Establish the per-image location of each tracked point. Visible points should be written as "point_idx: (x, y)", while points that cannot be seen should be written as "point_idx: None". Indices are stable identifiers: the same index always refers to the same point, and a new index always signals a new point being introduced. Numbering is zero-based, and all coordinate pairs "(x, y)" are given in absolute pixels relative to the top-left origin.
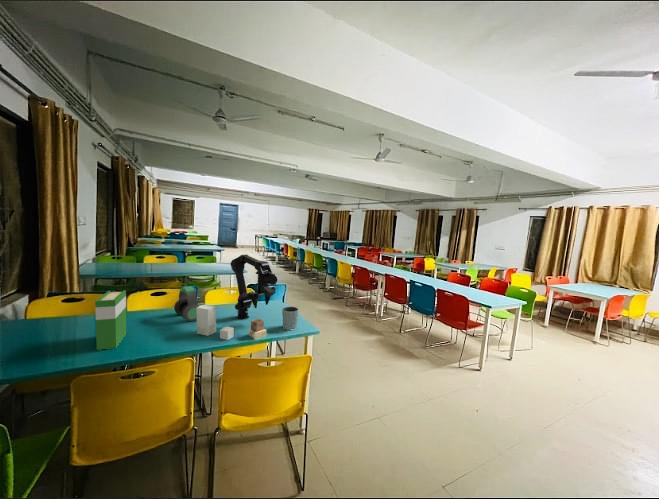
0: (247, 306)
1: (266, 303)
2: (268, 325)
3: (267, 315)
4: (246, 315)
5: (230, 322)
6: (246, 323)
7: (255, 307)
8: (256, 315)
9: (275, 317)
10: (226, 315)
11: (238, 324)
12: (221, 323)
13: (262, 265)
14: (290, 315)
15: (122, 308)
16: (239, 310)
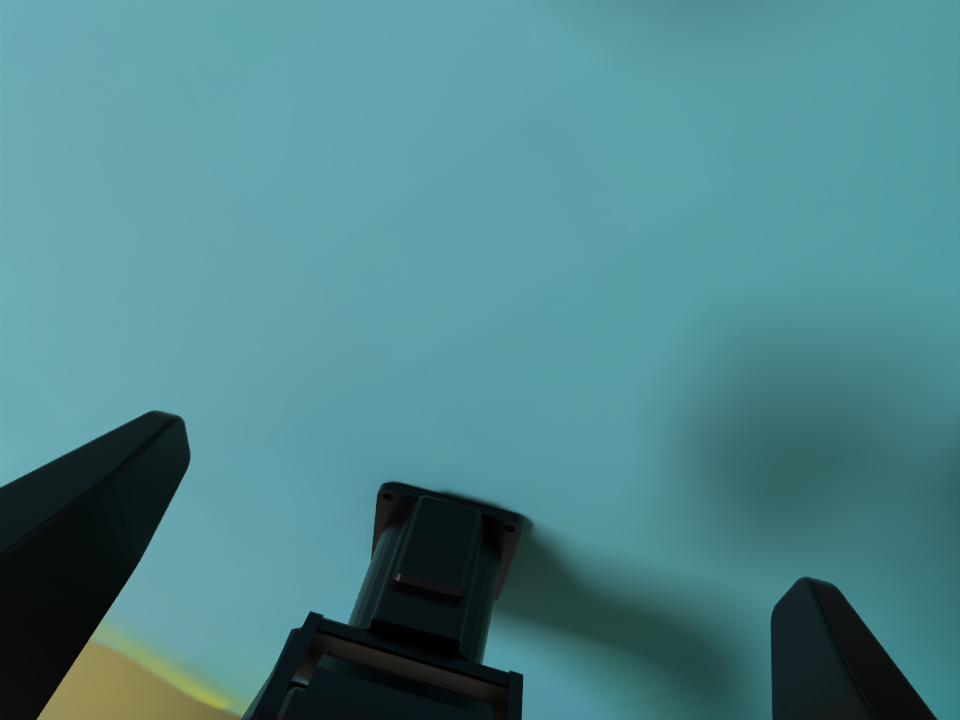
0: (380, 670)
1: (154, 482)
2: (489, 8)
3: (134, 309)
4: (441, 530)
5: (670, 579)
6: (608, 418)
7: (843, 633)
8: (264, 436)
9: (70, 137)
10: (497, 664)
11: (696, 487)
12: (744, 633)
13: None
14: None
15: None
16: (521, 677)
